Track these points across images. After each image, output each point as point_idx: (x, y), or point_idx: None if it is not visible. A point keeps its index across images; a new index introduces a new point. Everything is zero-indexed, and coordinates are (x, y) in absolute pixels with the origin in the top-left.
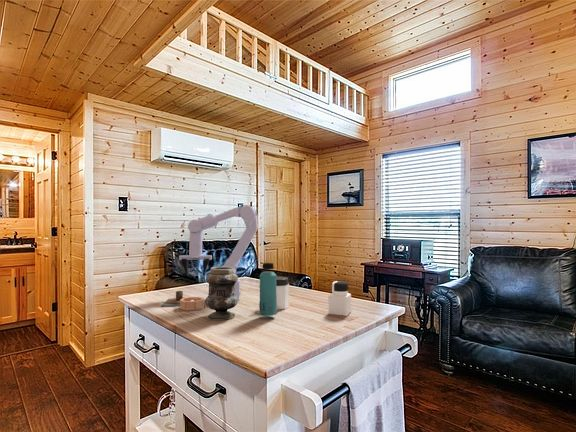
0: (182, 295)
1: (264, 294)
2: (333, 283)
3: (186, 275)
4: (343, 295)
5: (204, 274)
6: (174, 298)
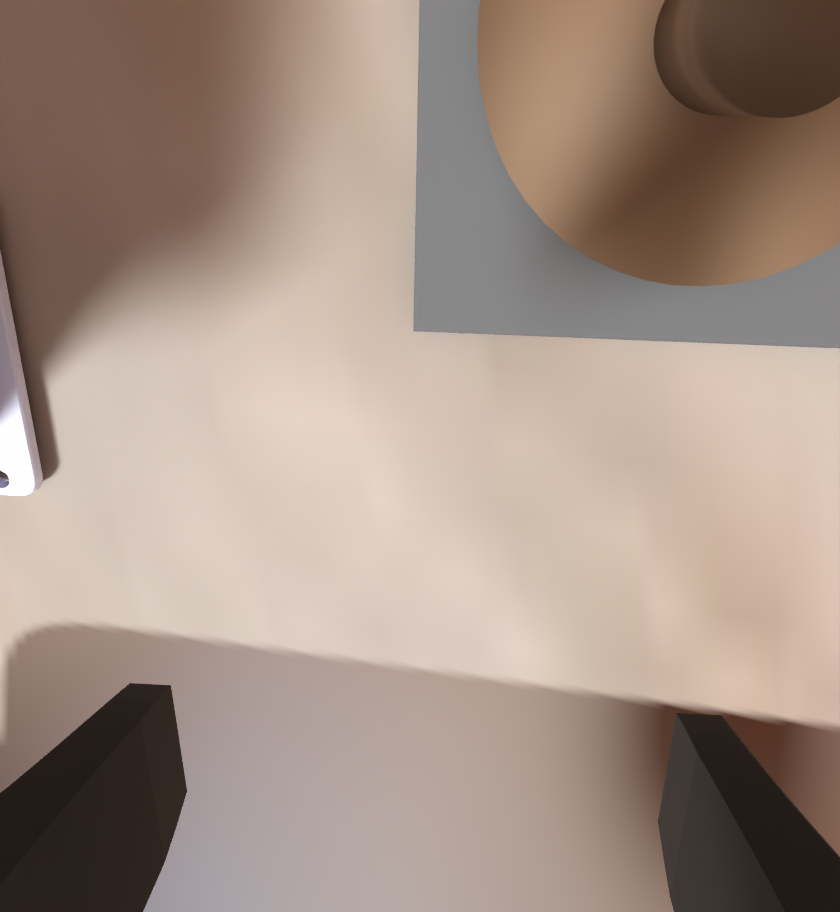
0: (678, 15)
1: None
2: None
3: (706, 723)
4: None
5: (104, 707)
6: (834, 200)
